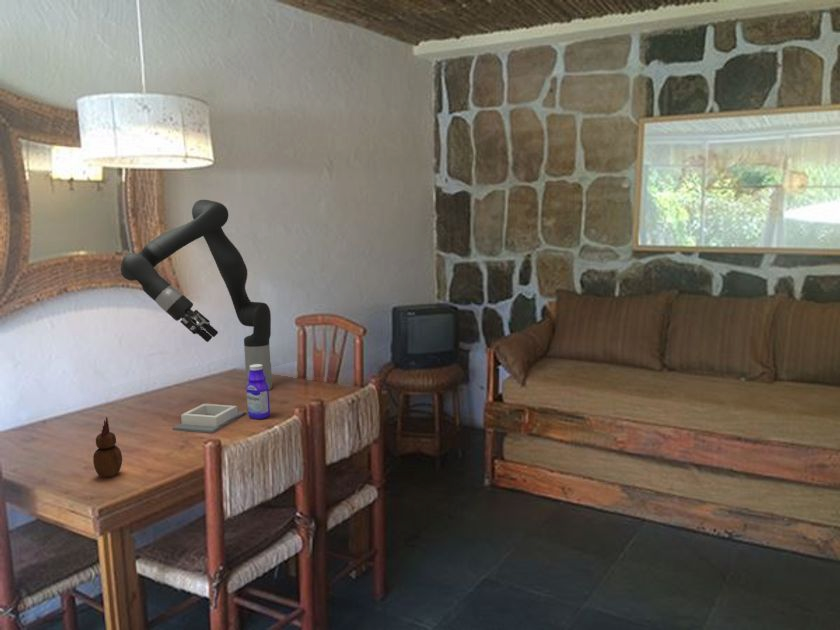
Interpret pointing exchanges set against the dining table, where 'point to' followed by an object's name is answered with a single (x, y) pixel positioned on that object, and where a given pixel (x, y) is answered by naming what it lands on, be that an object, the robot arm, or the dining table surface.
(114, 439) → the wooden figurine
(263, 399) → the bottle
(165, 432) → the dining table surface
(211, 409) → the bottle stand
